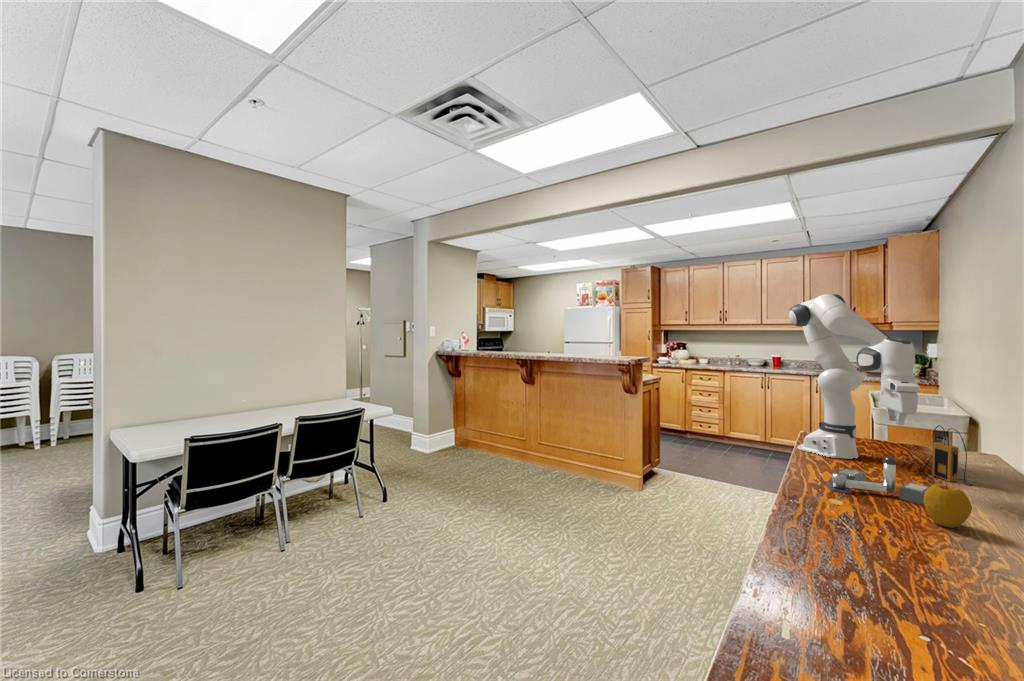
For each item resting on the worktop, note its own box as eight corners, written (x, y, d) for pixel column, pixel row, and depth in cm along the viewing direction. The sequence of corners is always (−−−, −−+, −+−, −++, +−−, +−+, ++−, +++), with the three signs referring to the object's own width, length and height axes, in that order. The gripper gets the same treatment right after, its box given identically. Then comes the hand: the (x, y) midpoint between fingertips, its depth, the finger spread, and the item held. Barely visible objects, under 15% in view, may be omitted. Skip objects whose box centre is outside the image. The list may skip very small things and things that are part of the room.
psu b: (834, 483, 157) (834, 471, 157) (846, 478, 163) (846, 467, 163) (854, 488, 152) (854, 476, 152) (865, 483, 158) (865, 471, 157)
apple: (971, 525, 123) (973, 485, 123) (970, 536, 117) (971, 493, 117) (924, 514, 131) (926, 476, 130) (920, 524, 124) (922, 483, 124)
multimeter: (988, 486, 155) (990, 431, 154) (960, 486, 155) (961, 430, 155) (947, 472, 170) (949, 422, 169) (922, 472, 170) (923, 422, 169)
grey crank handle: (833, 487, 150) (834, 453, 150) (830, 483, 154) (831, 450, 153) (897, 494, 143) (898, 459, 143) (892, 490, 147) (893, 455, 147)
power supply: (899, 499, 143) (899, 486, 143) (909, 493, 148) (910, 481, 148) (923, 505, 138) (924, 492, 137) (933, 499, 143) (933, 486, 143)
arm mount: (830, 491, 149) (831, 488, 149) (825, 485, 155) (825, 483, 155) (852, 493, 147) (852, 491, 147) (846, 487, 153) (846, 485, 153)
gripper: (874, 380, 164) (873, 416, 164) (898, 386, 145) (897, 427, 145) (895, 381, 161) (894, 417, 162) (922, 387, 142) (921, 429, 143)
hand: (895, 422), depth 153 cm, fingers open, 5 cm apart
